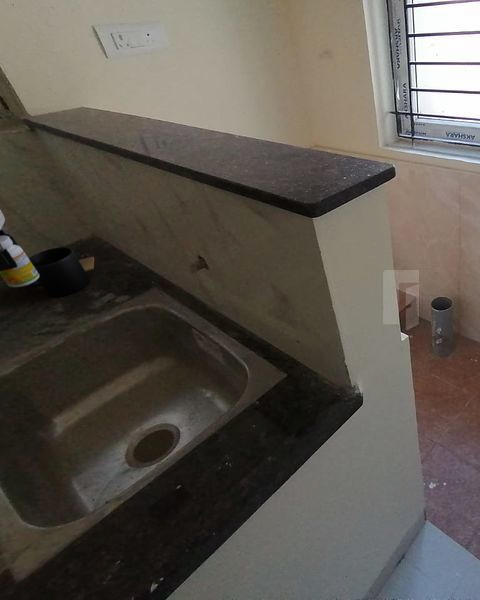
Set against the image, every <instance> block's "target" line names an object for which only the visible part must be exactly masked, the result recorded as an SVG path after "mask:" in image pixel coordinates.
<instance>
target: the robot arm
mask: <svg viewBox="0 0 480 600" xmlns="http://www.w3.org/2000/svg"><path fill="white" fill-rule="evenodd" d="M5 222H6V218H5V215H4V214H3V212H2V210H1V209H0V236H8V237H9V238H10V239H11V241H12V242H13V244H12V245H17V246H20V245H19V244H18V242H17V241H16V239H15V238H14V237H13V235H12V233H11V231H10V230H9V229H8V228H7V227H6V224H5ZM17 266H18V265H17V263H16V262H15V260H14V259H13V258H12V256H11V255H10V253H9V252H8V251H7V249H3V247H2V245H1V243H0V271H3V270H8V269H12V268H16V267H17Z"/></svg>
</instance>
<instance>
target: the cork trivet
mask: <svg viewBox="0 0 480 600" xmlns="http://www.w3.org/2000/svg"><path fill="white" fill-rule="evenodd" d="M78 260H79V262H80V263H81V265H82V266H83V268H84V270H85V271H86V272H88V271H89V272H90V271H92V270H95V269H94V268H95V267H94V266H95V256H90V257H85V258H82V259H78Z"/></svg>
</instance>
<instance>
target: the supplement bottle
mask: <svg viewBox="0 0 480 600" xmlns="http://www.w3.org/2000/svg"><path fill="white" fill-rule="evenodd" d="M0 243H1V245H2V247H3V249H7V251H8V252H9V253H10V255H11V256H12V258H13V259H14V260H15V262H16V263H17V265H18V266H17V267H16V268H12V269H8V270H3V271H0V277H1V278H2V279H3V281H4V282H5V284H6V285H7V286H8V287H10V288H21V287H26V286H27V285H29V284H31V283H36V281H37V279H38V278H39V273H38V272H37V270H36V269H35V267H34V266H33V264H32V263H31V261H30V260H29V258H30V257H28V256H27V254H26V252H25V251H24V249H23V248H22V247H21V246H20V245H19V246H17V245H12V244H13V242H12V241H11V239H10V238H9V237H8V236H0Z"/></svg>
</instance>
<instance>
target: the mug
mask: <svg viewBox="0 0 480 600" xmlns="http://www.w3.org/2000/svg"><path fill="white" fill-rule="evenodd" d="M28 258H29V260H30V261H31V263H32V264H33V266H34V267H35V269H36V270H37V272H38V273H39V278H38V279H37V280H36V281H37V283H36V282H33V283H31V284H29V285H26V286H27V287H30V288H42V289H43V291H44V292H45V293H46V295H48V296H50V297H52V298H59V297H60V298H61V297H66V296H70V295H73V294H75V293H78V292H80V291H82V290H83V289H85V288H86V287H87V286H88V285H89V284H90V283H91V278H90V276H89V275H88V272H87V271H85V270H84V268H83V266H82V265H81V263H80V262H79V260H80V259H78V256H77V255H76V253H75V252H74V250H73V249H72V248H70V247H66V246H61V247H53V248H48V249H45V250H41V251H40V252H38V253H35V254H34V255H32V256H30V257H28Z"/></svg>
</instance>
